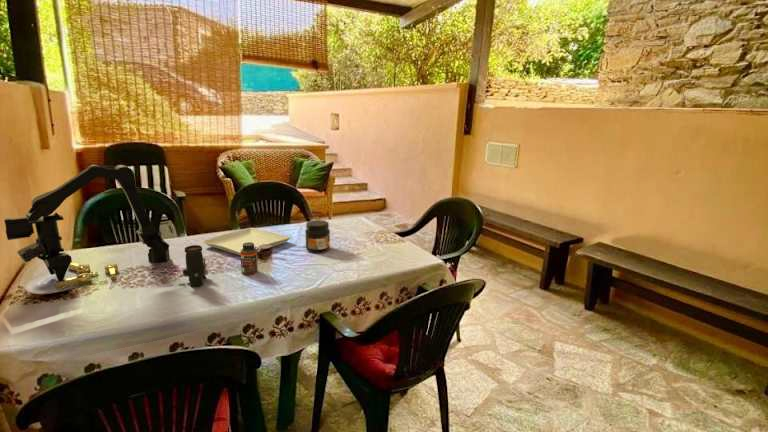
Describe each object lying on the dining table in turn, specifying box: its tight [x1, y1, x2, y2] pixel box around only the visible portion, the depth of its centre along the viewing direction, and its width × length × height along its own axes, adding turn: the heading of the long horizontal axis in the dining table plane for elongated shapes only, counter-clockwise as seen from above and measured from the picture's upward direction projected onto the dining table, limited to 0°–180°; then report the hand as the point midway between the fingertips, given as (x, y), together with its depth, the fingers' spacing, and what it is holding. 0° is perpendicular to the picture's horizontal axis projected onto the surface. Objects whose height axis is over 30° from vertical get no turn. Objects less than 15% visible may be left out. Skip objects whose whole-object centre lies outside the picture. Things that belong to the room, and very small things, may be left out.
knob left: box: [54, 273, 93, 290], centre depth 143 cm, size 10×4×3 cm, turn 140°
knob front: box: [67, 261, 92, 275], centre depth 154 cm, size 10×4×3 cm, turn 65°
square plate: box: [202, 227, 292, 256], centre depth 189 cm, size 27×27×4 cm
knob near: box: [104, 263, 119, 281], centre depth 152 cm, size 10×4×3 cm, turn 35°
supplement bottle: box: [240, 242, 259, 276], centre depth 159 cm, size 6×6×11 cm
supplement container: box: [304, 219, 331, 254], centre depth 185 cm, size 10×10×12 cm
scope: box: [182, 244, 209, 289], centre depth 148 cm, size 8×14×10 cm
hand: (56, 278), depth 146 cm, fingers open, 9 cm apart
